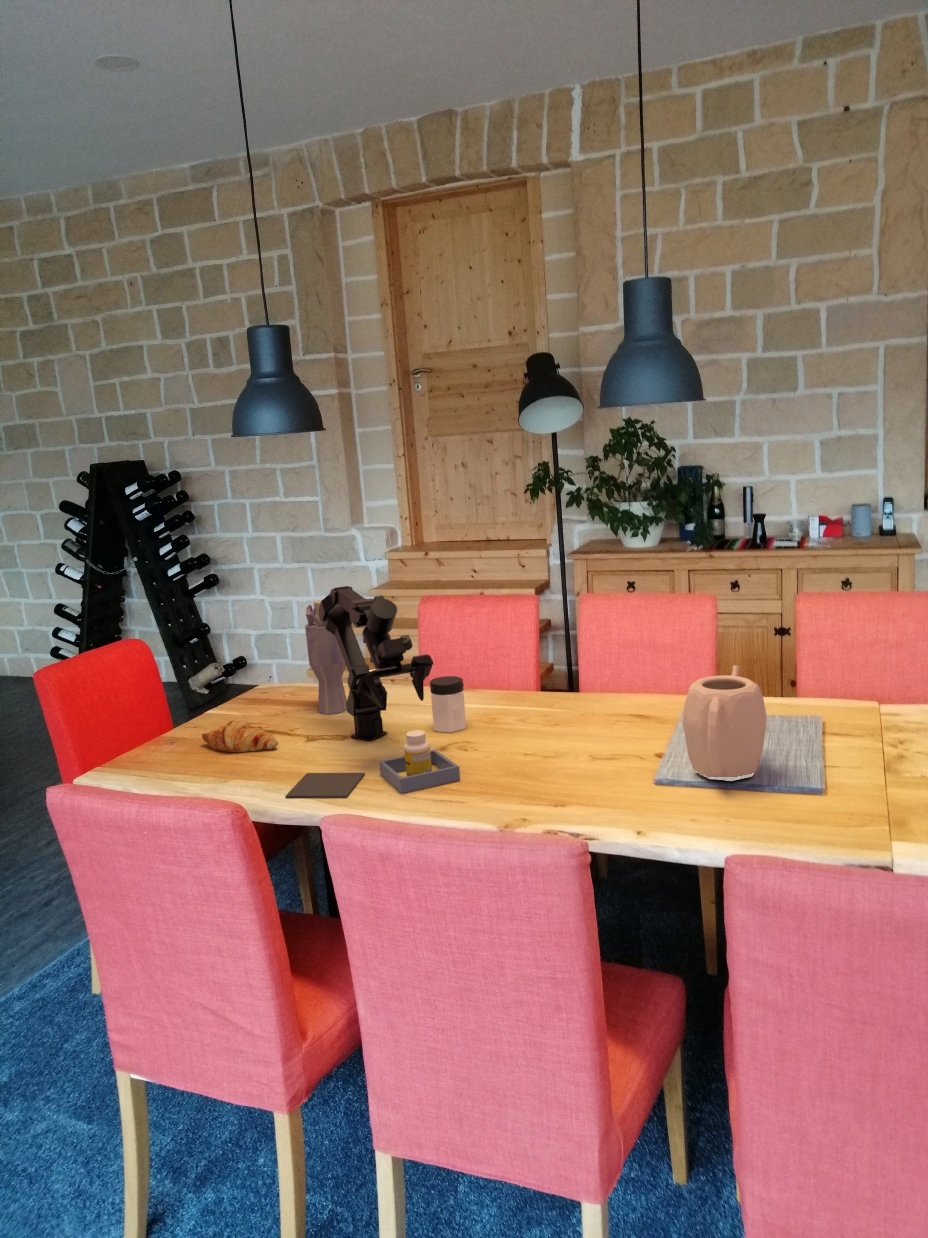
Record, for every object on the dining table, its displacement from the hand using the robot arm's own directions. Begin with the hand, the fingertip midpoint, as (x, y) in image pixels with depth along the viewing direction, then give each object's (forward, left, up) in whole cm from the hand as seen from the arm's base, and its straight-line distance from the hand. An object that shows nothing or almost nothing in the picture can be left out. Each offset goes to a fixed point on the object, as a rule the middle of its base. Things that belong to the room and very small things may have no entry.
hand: (402, 703), depth 201 cm
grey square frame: (+7, -4, -14) cm, 16 cm away
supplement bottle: (+7, -4, -14) cm, 16 cm away
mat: (-8, -17, -14) cm, 24 cm away
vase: (-49, +25, -14) cm, 57 cm away
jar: (-9, +26, -14) cm, 31 cm away
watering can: (+61, +28, -14) cm, 68 cm away
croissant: (-46, -9, -15) cm, 49 cm away
